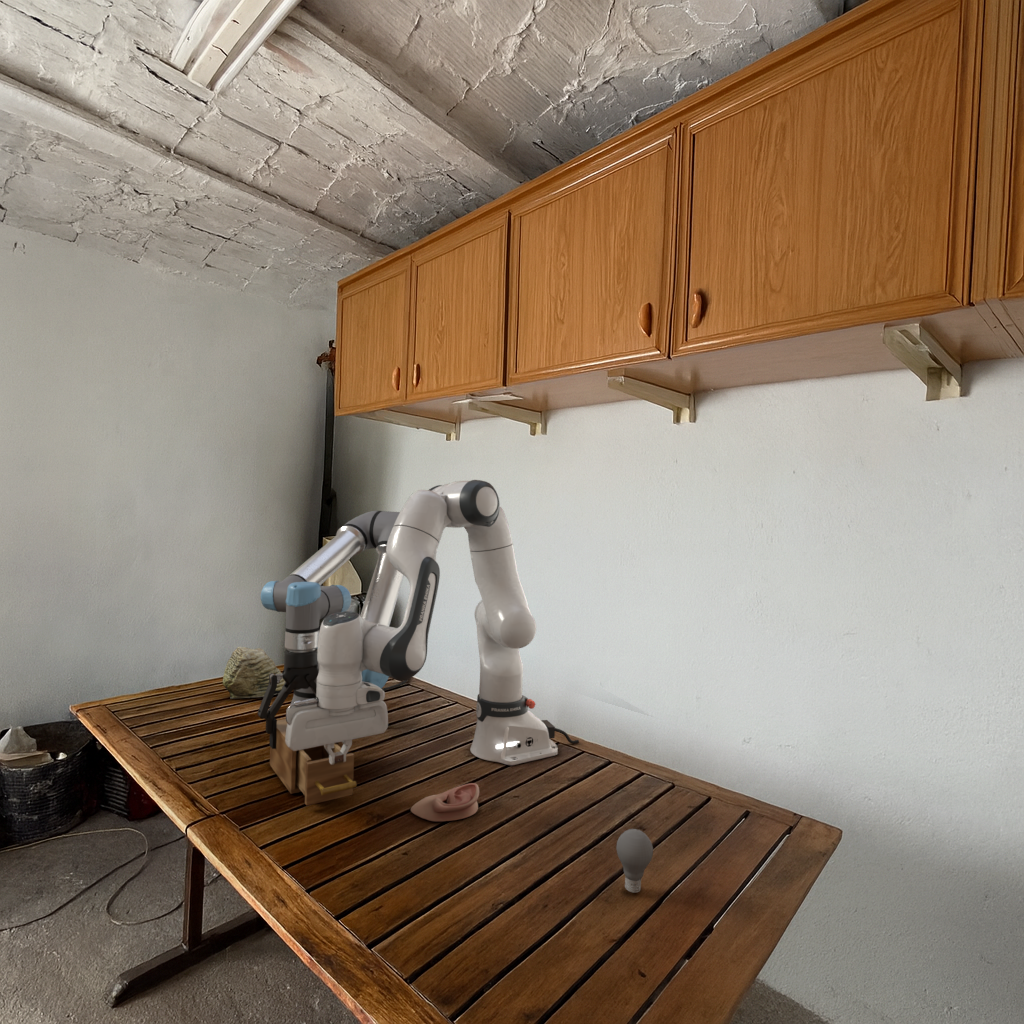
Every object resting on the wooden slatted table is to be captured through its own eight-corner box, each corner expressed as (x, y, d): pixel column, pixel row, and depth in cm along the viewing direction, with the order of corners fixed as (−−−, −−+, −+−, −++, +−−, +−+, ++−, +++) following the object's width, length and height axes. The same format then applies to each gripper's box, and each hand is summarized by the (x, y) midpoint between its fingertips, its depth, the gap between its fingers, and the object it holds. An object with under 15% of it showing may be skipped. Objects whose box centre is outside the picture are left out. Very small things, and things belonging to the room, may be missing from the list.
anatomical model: (405, 797, 126) (424, 773, 137) (404, 817, 126) (424, 792, 138) (469, 807, 124) (484, 782, 135) (468, 827, 124) (483, 800, 135)
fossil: (218, 695, 195) (220, 647, 195) (278, 685, 208) (279, 640, 207) (228, 703, 189) (230, 653, 188) (289, 692, 201) (290, 645, 201)
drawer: (362, 804, 128) (363, 763, 128) (314, 816, 123) (316, 773, 123) (326, 766, 146) (328, 730, 146) (283, 775, 140) (285, 738, 140)
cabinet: (340, 782, 140) (342, 736, 140) (290, 794, 134) (292, 745, 134) (315, 755, 154) (317, 713, 154) (269, 764, 148) (270, 721, 148)
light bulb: (610, 879, 108) (613, 822, 108) (644, 879, 109) (647, 822, 109) (619, 902, 102) (622, 840, 102) (655, 901, 103) (658, 840, 103)
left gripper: (252, 657, 138) (249, 757, 139) (355, 647, 152) (352, 738, 152) (245, 650, 144) (241, 745, 145) (344, 641, 158) (341, 728, 158)
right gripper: (291, 707, 118) (289, 780, 119) (392, 690, 130) (390, 757, 131) (281, 697, 124) (280, 768, 124) (379, 682, 135) (378, 747, 136)
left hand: (298, 742), depth 148 cm, fingers closed on cabinet, 11 cm apart
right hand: (337, 762), depth 127 cm, fingers closed
